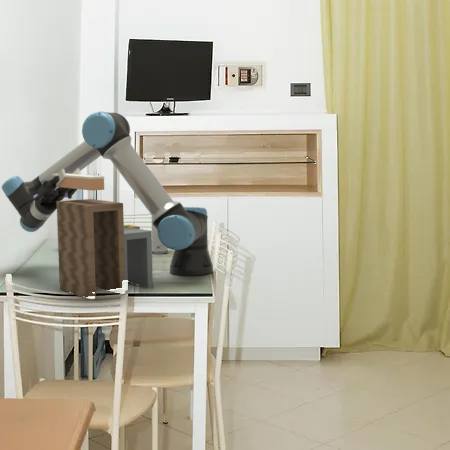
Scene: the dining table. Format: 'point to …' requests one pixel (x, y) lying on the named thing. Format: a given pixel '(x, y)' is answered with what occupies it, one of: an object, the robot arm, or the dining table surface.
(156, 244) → the travel mug
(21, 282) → the dining table surface
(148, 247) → the grey bench
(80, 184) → the slim box
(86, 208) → the walnut stand
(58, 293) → the dining table surface
